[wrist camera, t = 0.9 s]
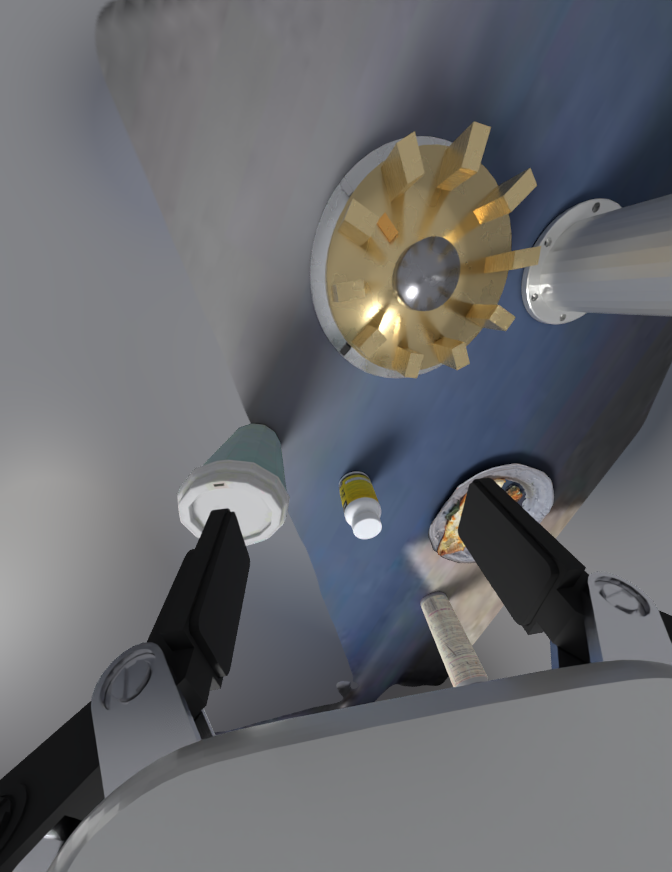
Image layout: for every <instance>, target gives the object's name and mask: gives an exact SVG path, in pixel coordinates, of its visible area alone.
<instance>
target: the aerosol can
mask: <svg viewBox="0 0 672 872" xmlns="http://www.w3.org/2000/svg"><path fill="white" fill-rule="evenodd" d="M420 605H421V607H422V610H423V613H424V615H425V618H426V620H427V622H428V625H429V627H430V630H431V632H432V635H433V637H434V640H435V642H436V645H437V647H438V650H439V652H440V655H441V657H442V660H443V662H444V665H445V667H446V669H447V672H448V674H449V677H450V679H451V682H452V684H453V686H454V687H458V686H464V685H469V684H474V683H480V682H485V681H489V680H488V677H487V675H486V673H485V671H484V669H483V667H482V665H481V663H480V661H479V659H478V657H477V655H476V653H475V651H474V649H473V647H472V645H471V643H470V641H469V639H468V637H467V635H466V633H465V631H464V629H463V627H462V625H461V623H460V621H459V620H458V618H457V616H456V614H455V612H454V610H453V608H452V606H451V604H450V602H449V600H448V598H447V596H446V594H445V593H443V592H434V593H430V594H428V595H426V596H425V597H424V598H423V599H422V600H421V602H420Z"/></svg>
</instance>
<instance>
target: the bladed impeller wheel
mask: <svg viewBox="0 0 672 872" xmlns="http://www.w3.org/2000/svg"><path fill="white" fill-rule="evenodd" d="M490 129H491V127H489V126H486V125H483V124H480V123H477V122H473V123H472V124H471V125H470V126H469V127H468V128H467V129H466V130H465V131H464V132H463V133H462V134H461V135H460V136H459V137H458V138H457V139H456V140H455V141H454V142H453V143H452V144H451V145H450V146H444V145H438V144H435V145H421V146H418V143H417V138H416V134H415V131H414V132H413V133H411V134H409V135H408V136H406V137H405V138H403V139H402V140H400V141H399V142H397V143H396V145H395V146H394V148H393V149H392V151H391V153H390V154H389V156H388V157H387V159H386V160H385V161H383V162H381V163H380V164H379V165H378V166H377V167H376V168H374V169H373V170H372V171H371V172H370V173H369V174H368V175H367V176H366V177H365V178H364V179H363V180H362V181H361V183H360V184H359V185H358V186H357V188H356V189H355V190H354V192H353V193H352V195H351V196H350V198H349V199H348V201H347V203H346V205H345V207H344V209H343V211H342V212H341V214H340V216H339V218H338V220H337V222H336V225H335V228H334V230H333V233H332V235H331V239H330V243H329V247H328V251H327V258H326V265H325V285H326V295H327V300H328V305H329V308H330V311H331V314H332V317H333V320H334V322H335V324H336V326H337V328H338V330H339V331H340V333H341V335H342V336H343V338H344V339H345V340H346V341H347V342H348V344H349V345H350V346H351V347H352V348H353V349H354V350H356V351H357V352H358V353H359V354H360V355H361V356H362V357H364V358H365V359H367V360H368V361H370V362H371V363H373V364H376V365H378V366H380V367H383V368H386V369H389V370H395V371H397V372H399V373H400V374H401V375H403V376H404V377H411V378H417V377H418V373H419V370H423V369H427V368H430V367H433V366H436V365H438V364H440V363H442V364H444V365H447V366H449V367H451V368H453V369H456V370H458V369H460V368H462V367H464V366H466V365H468V364H470V363H469V358H468V354H467V350H466V346H467V345H468V344H469V343H470V342H471V341H472V340H473V339H474V338H475V337H476V336H477V334H478V333H479V332H480V331H481V329H482V328H489V329H495V330H502V331H506V330H507V329H508V327H509V326H510V325H511V323H512V322H513V320H514V319H515V318H516V317H515V316H513V315H512V314H511V313H509V312H508V311H506V310H505V309H504V308H502V307H501V306H500V305H497V303H498V301H499V299H500V296H501V294H502V291H503V288H504V285H505V282H506V279H507V274H508V270H513V269H518V268H523V267H529V266H534V265H538V262H539V256H540V251H541V246H538V247H532V248H527V249H522V250H516V251H512V252H511V226H510V218H509V214H508V213H510V212H512V211H513V210H514V209H515V208H516V207H517V206H518V205H519V204H520V203H521V201H522V200H523V199H524V198H525V197H526V196H527V195H528V194H529V193H530V192H531V191H532V190H533V189H534V188H535V187H536V186H537V184H536V181H535V179H534V176H533V173H532V171H531V168H529V169H527V170H525V171H523V172H522V173H520V174H518V175H516V176H515V177H513V178H511V179H509V180H508V181H506V182H504V183H502V184H500V185H499V186H498V185H497V183H496V181H495V179H494V178H493V177H492V175H491V174H490V173H489V171H488V170H487V169H486V168H485V167H484V166H483V165H482V164H481V160H482V156H483V153H484V150H485V146H486V143H487V139H488V136H489V133H490Z"/></svg>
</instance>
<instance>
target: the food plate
mask: <svg viewBox="0 0 672 872" xmlns="http://www.w3.org/2000/svg"><path fill="white" fill-rule="evenodd" d="M480 478H491V479H493V480H494V481H495V482H496V483H497V484H498V485H499V486H500V487H502V486H503V484H504V482H506V481H505V479H507V480H510V481H513V482H516V483H520V484H521V485H522V486H523V488H524V489H525V490H524V491H525V492H526V497H525V498H526V500H524V503H523V504H522V506H523V505H524V504H525V506H524V507H523V509H524V510H525V511H527V512H528V513H529V514H530V515H531V516H532V517H533V518H534V519H535V520H536V521H537V522H538V523H540V522H541V521H542V520H543V518H545V517H544V516H546V514H548V513H549V511H550V509H551V506H552V505H553V499H554V494H553V492H554V491H553V486H552V483H551V482H552V481H551V479H549V477H548V476H547V475H546V474H545V473H544V472H541V471H539V470H538V469H535V468H532V467H529V466H525V465H521V464H517V463H516V464H515V463H514V464H508V465H505V466H503V465H502V466H499V467H494V468H490V469H488V470H485V471H483V472H481V473H479V474H477V475H475V476H473V477H472V478H470V479H468V480H467V481H465V482H464V483H462V484H461V485H459V487H457V489H456V490H455V492H453V494H452V496H451V497H450V498H449V499H448V501H446V503H445V504H444V506H443V507H442V509H441V511H440V512H439V513H438V515H437V516H436V518H435V519H434V521H433V522H432V523H431V525H430V528H429V533H428V535H429V539H430V542H431V544H432V547H433V550H434V551H436V552H437V553H438V555H440V556H441V557H443V558H445V559H448V560H451V561H454V562H457V563H474V562H475V560H474V559H473V557H472V556H471V554H470V553H469V551H468V550H467V548H466V547H465V545H464V544H463V542H462V541H461V539H460V537H459V535H458V526H459V522H460V518H461V514H462V510H463V506H464V503H465V499H466V495H467V491H468V487H469V484H470V483H472V481H473V480H474V479H480ZM504 491H505V492H506V493H508V494H509V495H510V496H511V497H512V498H513V499H514V500H515V501H516V502H518V501H519V499H521V497H522V493H521V491H519V488H518V487H517V486H515V485H514V486H512V485H509V487H508V488H506V490H504Z"/></svg>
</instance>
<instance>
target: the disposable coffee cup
mask: <svg viewBox="0 0 672 872" xmlns="http://www.w3.org/2000/svg"><path fill="white" fill-rule="evenodd" d="M289 498H290V497H289V495H288V493H287V490H286V483H285V475H284V467H283V459H282V451H281V443H280V441H279V439H278V437H277V435H276V433H275V432H274V431H273V430H271V429H270V428H268V427H267V426H265V425H261V424H254V423H252V424H249V425H246V426H243V427H240V428H238V429H237V430H236V432H235V433H234V434H233V435H232V436H231V437H230V438H229V439H228V440H227V441H226V442H225V443H224V444H223V445H222V446H221V447H220V448H219V449H218V450H217V451H216V452H215V453H214V454H213V455H212V456H211V457H210V458H209V459H208V460H207V462H206V463H205V464H204V465H203V466H200V467H198V468H195V469H194V470H193V471H192V472H191V474H190V475H189V476H188V478H187V479H186V480H185V481H184V483H183V484H182V485H181V487H180V490H179V492H178V507H179V516H180V520H181V523H182V524H184V525H185V526H186V527H187V528H188V529H189V530H190V531H191V532H192V533H193V534H194V535H195V536H196V537H198V538H200V536H201V534H202V531H203V529H204V526H205V524H206V522H207V519H208V517H209V515H210V512H211V511H212V510H217V509H225V508H229V509H230V511H231V512H235V514H236V517H237V520H238V523H239V526H240V529H241V532H242V536H243V539H244V542H245V545H246V546H247V545H250V544H254V543H257V542H260V541H263V540H266V539H268V538H269V537H271V536H272V535H273V534H274V533H275V532H276V531H277V530H278V529H279V528H280V527H281V526H282V525H283V524H284V522H285V518H286V516H287V510H288V504H289Z"/></svg>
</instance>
